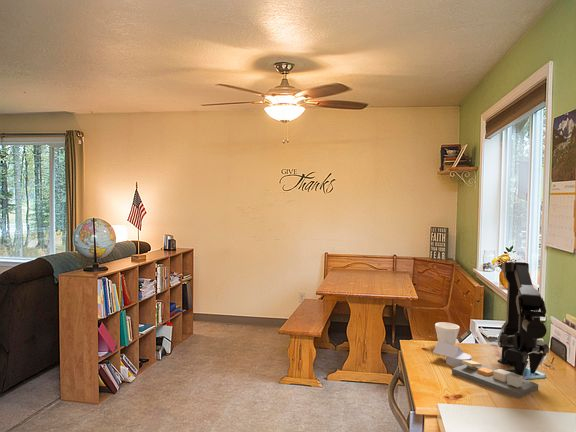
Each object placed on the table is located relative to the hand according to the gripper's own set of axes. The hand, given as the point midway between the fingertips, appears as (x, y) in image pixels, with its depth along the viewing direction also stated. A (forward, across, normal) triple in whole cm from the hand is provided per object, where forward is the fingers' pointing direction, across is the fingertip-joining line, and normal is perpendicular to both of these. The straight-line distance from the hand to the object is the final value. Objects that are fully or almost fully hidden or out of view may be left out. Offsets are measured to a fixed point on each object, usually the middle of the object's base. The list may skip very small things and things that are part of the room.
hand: (525, 376), depth 155 cm
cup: (+4, -14, -41) cm, 43 cm away
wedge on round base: (+4, 0, -28) cm, 28 cm away
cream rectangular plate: (0, +5, -17) cm, 18 cm away
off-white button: (+2, +5, -6) cm, 8 cm away
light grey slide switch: (+2, +7, 0) cm, 7 cm away
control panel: (+4, +5, -9) cm, 11 cm away
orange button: (+3, +5, -12) cm, 13 cm away
